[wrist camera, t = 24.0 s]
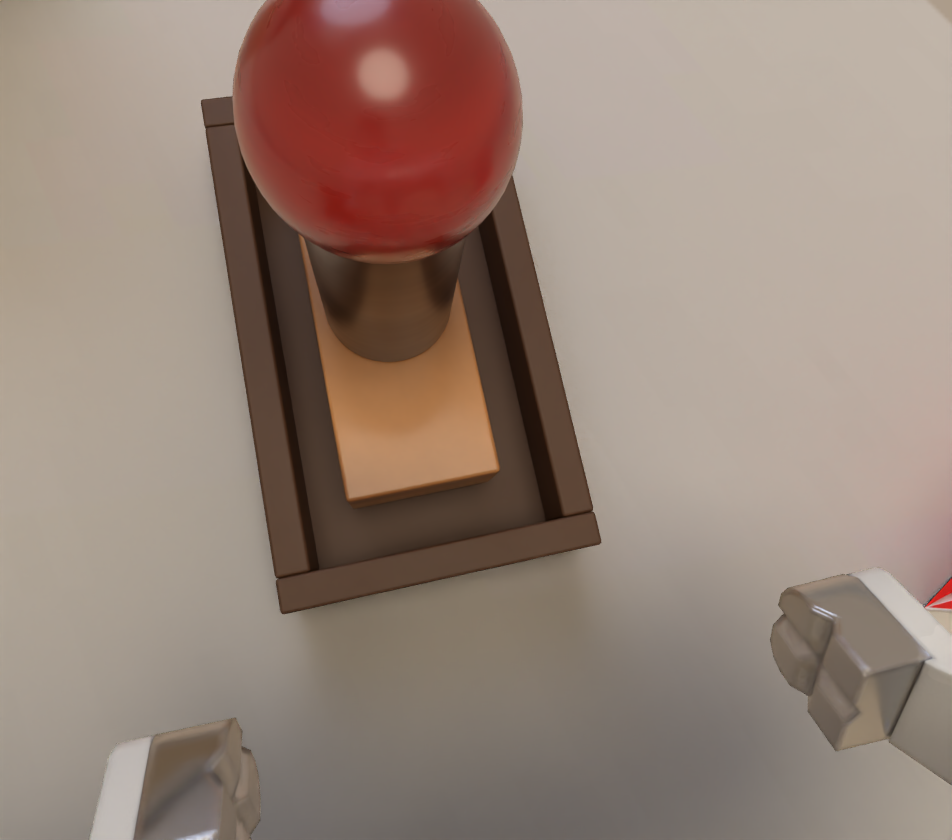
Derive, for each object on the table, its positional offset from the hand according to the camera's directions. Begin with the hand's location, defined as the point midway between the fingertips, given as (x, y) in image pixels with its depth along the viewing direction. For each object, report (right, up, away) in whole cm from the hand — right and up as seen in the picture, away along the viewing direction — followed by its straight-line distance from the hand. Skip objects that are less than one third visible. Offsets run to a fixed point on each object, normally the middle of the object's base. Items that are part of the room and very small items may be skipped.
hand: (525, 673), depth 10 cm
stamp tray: (-3, +6, +9) cm, 12 cm away
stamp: (-3, +6, +9) cm, 11 cm away
